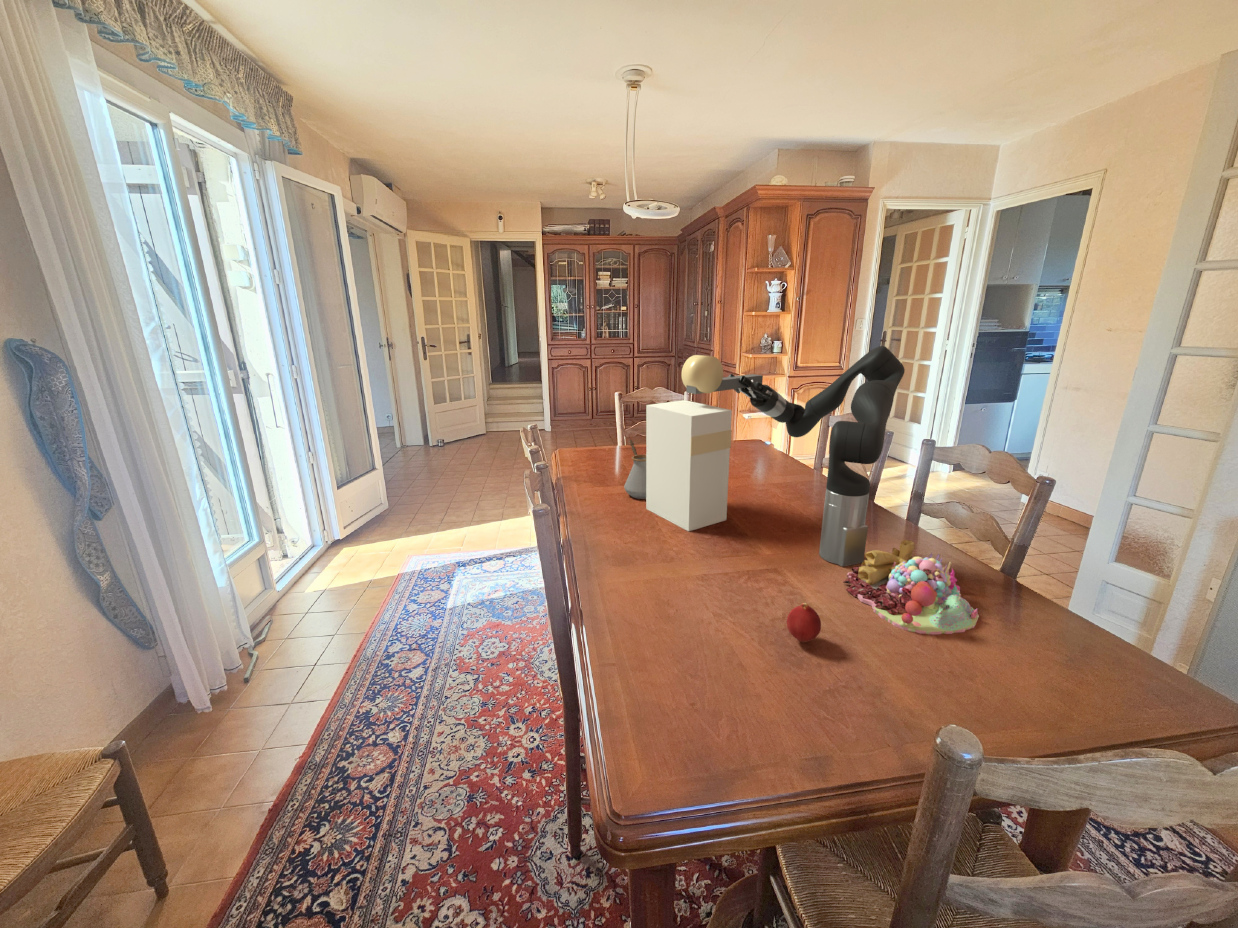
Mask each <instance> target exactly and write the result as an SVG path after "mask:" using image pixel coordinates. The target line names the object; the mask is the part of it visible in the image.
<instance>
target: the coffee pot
mask: <svg viewBox="0 0 1238 928" xmlns="http://www.w3.org/2000/svg"><path fill="white" fill-rule="evenodd" d="M629 443H630V444H629ZM627 445H630V447H631V450H632V452H633V456H631V460H632V461H633V464H632V467H631V469H630V471H629V475H628V476H627V479H626V480H625V483H624V486H623V487H624V490H625V492H626V493H627V494H628V495H629V496H630V497H631V498H633V499H639V500H646V454H638V453H637V448H636V447H635V441H634V440H632V439H630V440H629V441H628V443H627Z"/></svg>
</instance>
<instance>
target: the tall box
mask: <svg viewBox="0 0 1238 928" xmlns="http://www.w3.org/2000/svg"><path fill="white" fill-rule="evenodd" d="M645 406H646V407H645V408H646V411H645V412H646V413H645V414H646V416H645V419H646V424H645V425H646V426H645V427H646V428H645V431H646V433H645V434H646V435H645V437H646V438H645V439H646V443H645V445H646V452H645V453H646V454H645V455H646V499H645V500H646V501H645V504H646V506H645V507H646V508H645V509H646V510H647V511H649V512H652V513H653V514H655V515H657V516H658V517H660V518H663V519H665V520H667V521H668V522H670V523H672V524H674V525H675V526H677V527H679V528H681V529H683V530H685V531H687V532H692V531H694V530H698V529H702V528H704V527H707V526H710V525H715V524H717V523H721V522H724V521H727V513H728V492H729V491H728V490H729V477H730V475H729V473H730V457H731V456H730V452H731V448H732V414H733V412H732V411H733V410H732V409H729V408H723V407H718V406H715V405H710V404H705V403H701V402H700V403H699V402H696V401H689V400H684V399H683V400H674V401H668V402H660V403H653V404H646V405H645Z"/></svg>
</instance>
